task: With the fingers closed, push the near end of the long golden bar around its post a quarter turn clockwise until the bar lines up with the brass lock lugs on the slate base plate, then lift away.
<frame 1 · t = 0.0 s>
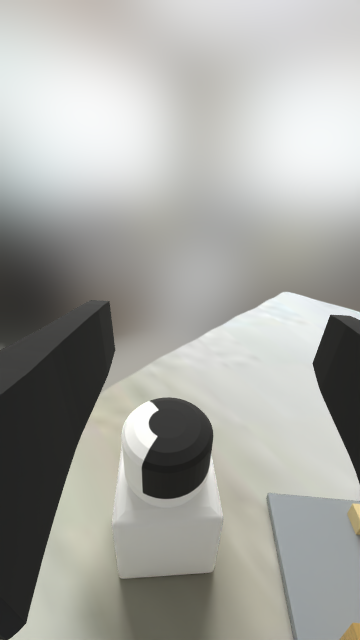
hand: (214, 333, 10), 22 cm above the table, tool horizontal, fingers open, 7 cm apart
medicine bottle: (165, 525, 24), on the table
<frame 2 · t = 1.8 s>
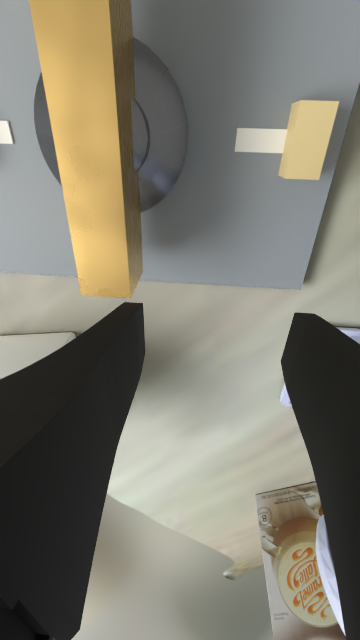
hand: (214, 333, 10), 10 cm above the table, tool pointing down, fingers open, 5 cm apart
base: (125, 136, 15), on the table
long golden bar: (101, 135, 12), point 4 cm above the table, hinge at 0.0°
coffee box: (300, 497, 33), on the table
medicine bottle: (50, 364, 25), on the table
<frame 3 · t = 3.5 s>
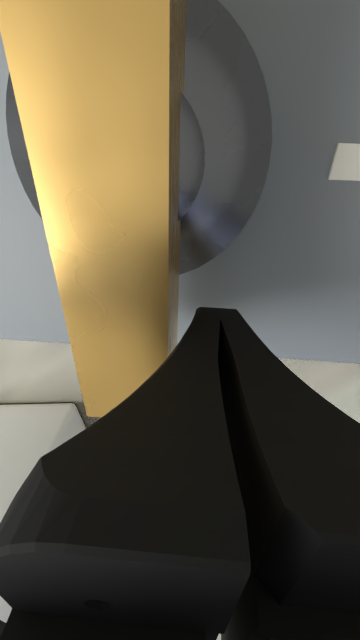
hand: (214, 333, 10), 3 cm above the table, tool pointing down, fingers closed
base: (153, 154, 10), on the table
long golden bar: (124, 162, 6), point 4 cm above the table, hinge at 0.0°, touching gripper
medicine bottle: (44, 435, 20), on the table
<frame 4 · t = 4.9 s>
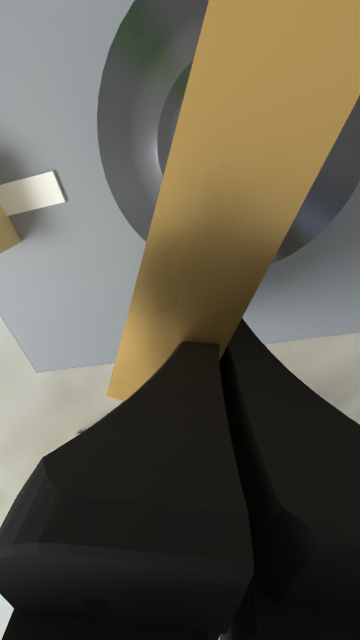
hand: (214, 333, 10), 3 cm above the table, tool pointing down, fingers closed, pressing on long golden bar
base: (225, 144, 10), on the table
long golden bar: (237, 147, 6), point 4 cm above the table, hinge at -30.3°, touching gripper
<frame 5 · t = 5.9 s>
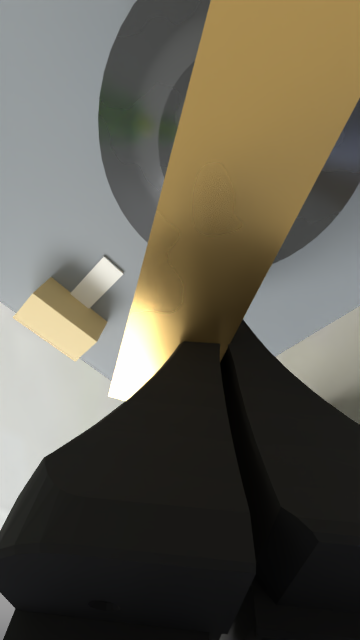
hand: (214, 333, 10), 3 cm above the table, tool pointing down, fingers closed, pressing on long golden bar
base: (226, 144, 10), on the table
long golden bar: (238, 147, 6), point 4 cm above the table, hinge at -62.3°, touching gripper
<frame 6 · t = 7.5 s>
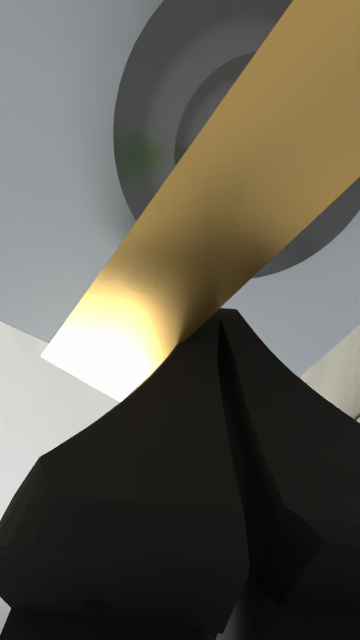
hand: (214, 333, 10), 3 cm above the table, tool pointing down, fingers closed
base: (237, 150, 10), on the table
long golden bar: (255, 157, 6), point 4 cm above the table, hinge at -99.2°, touching gripper
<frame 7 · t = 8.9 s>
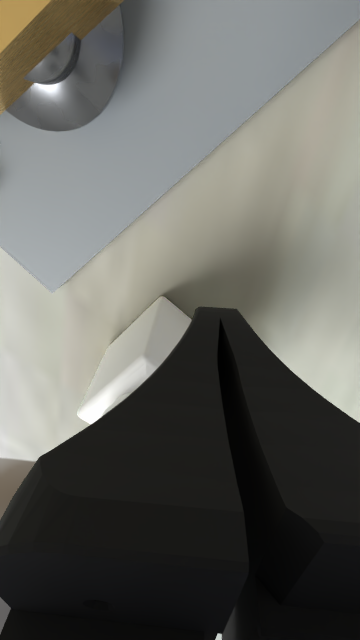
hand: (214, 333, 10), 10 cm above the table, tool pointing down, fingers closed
base: (64, 46, 14), on the table
long golden bar: (17, 15, 10), point 4 cm above the table, hinge at -99.2°
medicine bottle: (166, 346, 24), on the table
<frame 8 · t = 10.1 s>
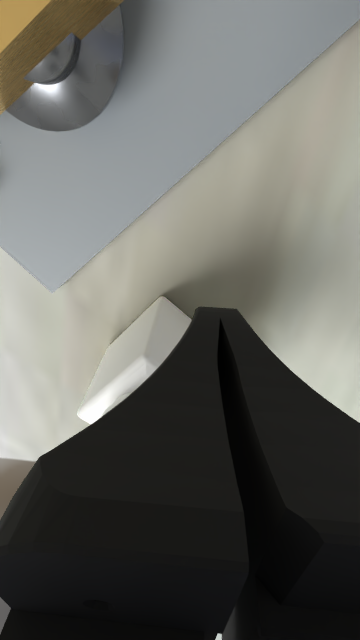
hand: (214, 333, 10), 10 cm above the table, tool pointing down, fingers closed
base: (64, 46, 14), on the table
long golden bar: (17, 15, 10), point 4 cm above the table, hinge at -99.2°
medicine bottle: (166, 346, 24), on the table
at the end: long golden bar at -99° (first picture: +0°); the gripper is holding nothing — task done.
